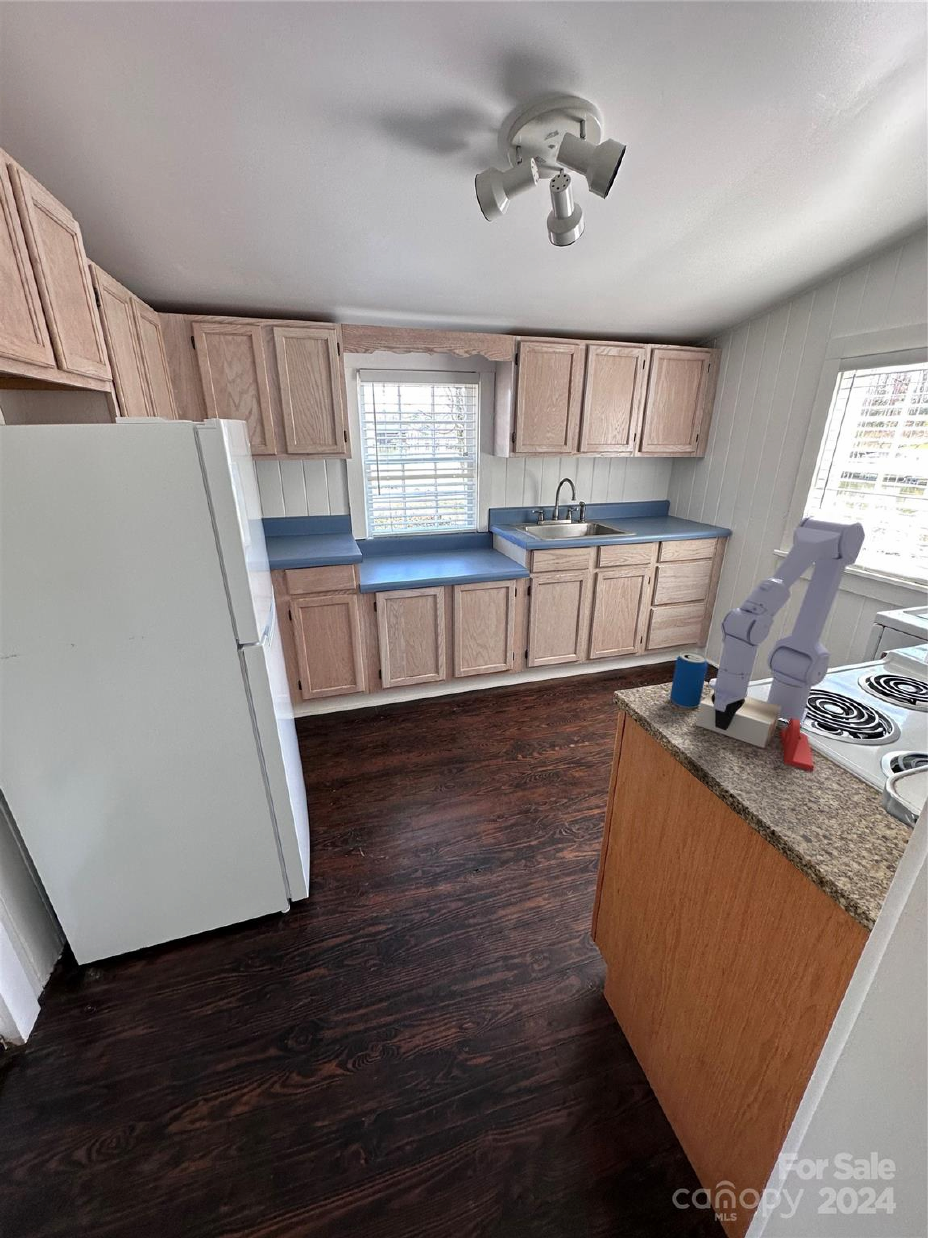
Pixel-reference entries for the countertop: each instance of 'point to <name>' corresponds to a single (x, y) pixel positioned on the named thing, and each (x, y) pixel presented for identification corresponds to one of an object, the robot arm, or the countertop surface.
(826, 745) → the countertop surface
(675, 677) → the beverage can
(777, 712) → the cream rectangular block
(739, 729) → the door
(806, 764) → the bracket
